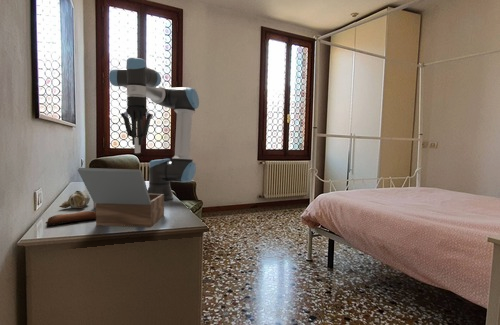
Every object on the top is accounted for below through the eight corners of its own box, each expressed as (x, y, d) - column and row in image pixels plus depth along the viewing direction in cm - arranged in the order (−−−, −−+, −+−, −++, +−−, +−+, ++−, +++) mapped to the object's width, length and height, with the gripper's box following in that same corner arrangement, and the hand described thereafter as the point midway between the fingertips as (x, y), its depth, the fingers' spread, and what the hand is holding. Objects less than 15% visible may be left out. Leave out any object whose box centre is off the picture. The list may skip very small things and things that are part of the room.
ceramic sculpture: (95, 187, 156) (79, 194, 142) (95, 203, 158) (81, 212, 143) (74, 187, 156) (56, 194, 141) (75, 203, 157) (58, 212, 142)
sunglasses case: (92, 215, 135) (94, 204, 132) (96, 226, 130) (98, 215, 127) (43, 222, 123) (44, 210, 120) (46, 234, 119) (47, 222, 116)
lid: (78, 167, 108) (77, 170, 107) (141, 169, 108) (140, 171, 107) (95, 200, 120) (94, 203, 119) (151, 202, 120) (150, 204, 119)
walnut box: (116, 214, 139) (116, 192, 138) (164, 215, 139) (164, 194, 138) (96, 225, 121) (95, 200, 120) (150, 227, 121) (150, 202, 120)
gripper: (117, 95, 122) (118, 153, 125) (149, 96, 122) (149, 154, 124) (125, 97, 130) (126, 152, 132) (155, 98, 129) (155, 152, 132)
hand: (137, 152), depth 128 cm, fingers closed
